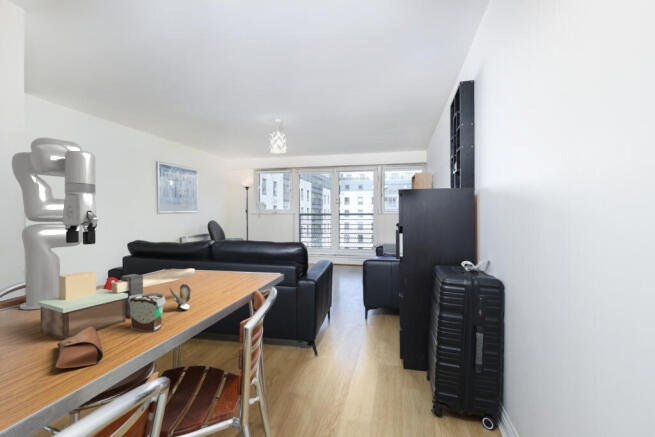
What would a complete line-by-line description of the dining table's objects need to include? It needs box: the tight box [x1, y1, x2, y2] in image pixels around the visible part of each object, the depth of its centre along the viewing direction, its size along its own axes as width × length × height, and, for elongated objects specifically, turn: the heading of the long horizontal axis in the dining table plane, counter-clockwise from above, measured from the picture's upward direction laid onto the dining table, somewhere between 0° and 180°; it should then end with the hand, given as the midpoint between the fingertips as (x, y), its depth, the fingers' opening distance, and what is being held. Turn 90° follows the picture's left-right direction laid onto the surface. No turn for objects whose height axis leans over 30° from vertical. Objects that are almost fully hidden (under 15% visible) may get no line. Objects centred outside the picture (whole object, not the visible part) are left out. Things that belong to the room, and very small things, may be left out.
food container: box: [128, 292, 166, 333], centre depth 91 cm, size 12×6×10 cm, turn 71°
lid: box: [38, 270, 128, 313], centre depth 91 cm, size 15×17×8 cm
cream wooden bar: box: [112, 267, 196, 293], centre depth 110 cm, size 3×30×3 cm, turn 154°
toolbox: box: [40, 273, 144, 341], centre depth 94 cm, size 14×22×14 cm, turn 154°
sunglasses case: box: [55, 327, 104, 369], centre depth 73 cm, size 18×7×7 cm
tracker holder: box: [102, 276, 119, 291], centre depth 118 cm, size 12×4×10 cm, turn 168°
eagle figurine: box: [169, 283, 192, 312], centre depth 107 cm, size 8×7×9 cm
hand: (80, 243), depth 93 cm, fingers open, 9 cm apart
